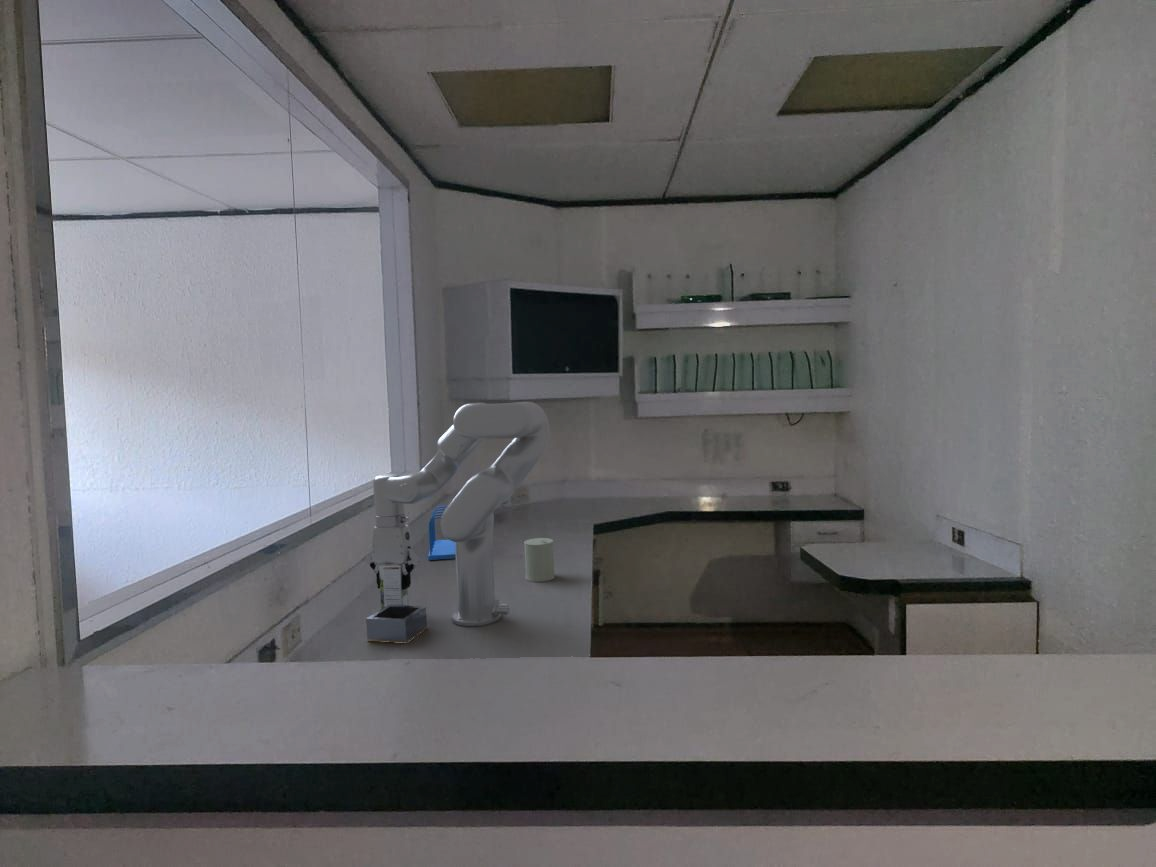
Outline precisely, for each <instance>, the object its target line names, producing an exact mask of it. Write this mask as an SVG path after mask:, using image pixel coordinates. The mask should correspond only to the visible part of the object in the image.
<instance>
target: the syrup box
mask: <svg viewBox="0 0 1156 867" xmlns="http://www.w3.org/2000/svg"><path fill="white" fill-rule="evenodd" d="M379 573H380V588H379V590H380V591H379V592H380V607H381V608H380V610H381V609H382V608H384V607H386V606H387V605H406V606H409V591H408V589H409V587H408V588H407V589H405V590H403V589H402V578H401V575H403V572H402V570H401V565H398V564H381V565H380V566H379Z"/></svg>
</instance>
